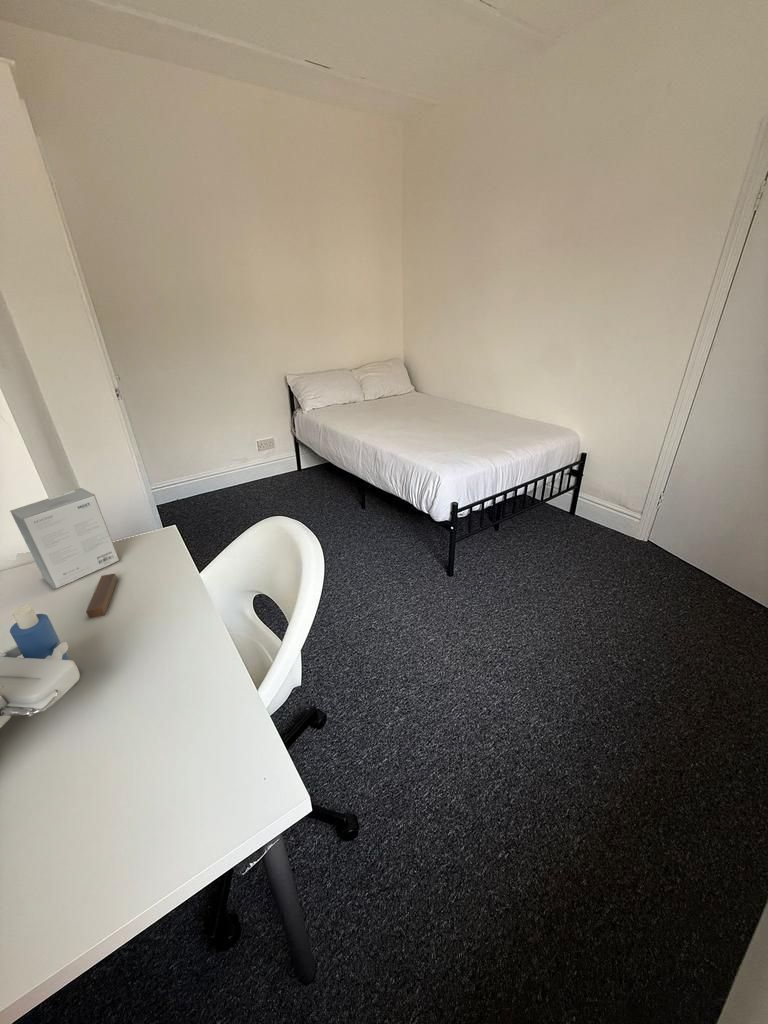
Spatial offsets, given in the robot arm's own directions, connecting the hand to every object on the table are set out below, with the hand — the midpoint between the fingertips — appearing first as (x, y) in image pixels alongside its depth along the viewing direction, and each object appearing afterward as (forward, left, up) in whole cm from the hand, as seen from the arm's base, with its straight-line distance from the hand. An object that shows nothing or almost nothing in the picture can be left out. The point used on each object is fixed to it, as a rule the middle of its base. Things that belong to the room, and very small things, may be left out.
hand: (46, 643), depth 74 cm
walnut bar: (+2, +24, -9) cm, 26 cm away
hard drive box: (-6, +39, -9) cm, 41 cm away
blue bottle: (0, -1, -9) cm, 9 cm away
